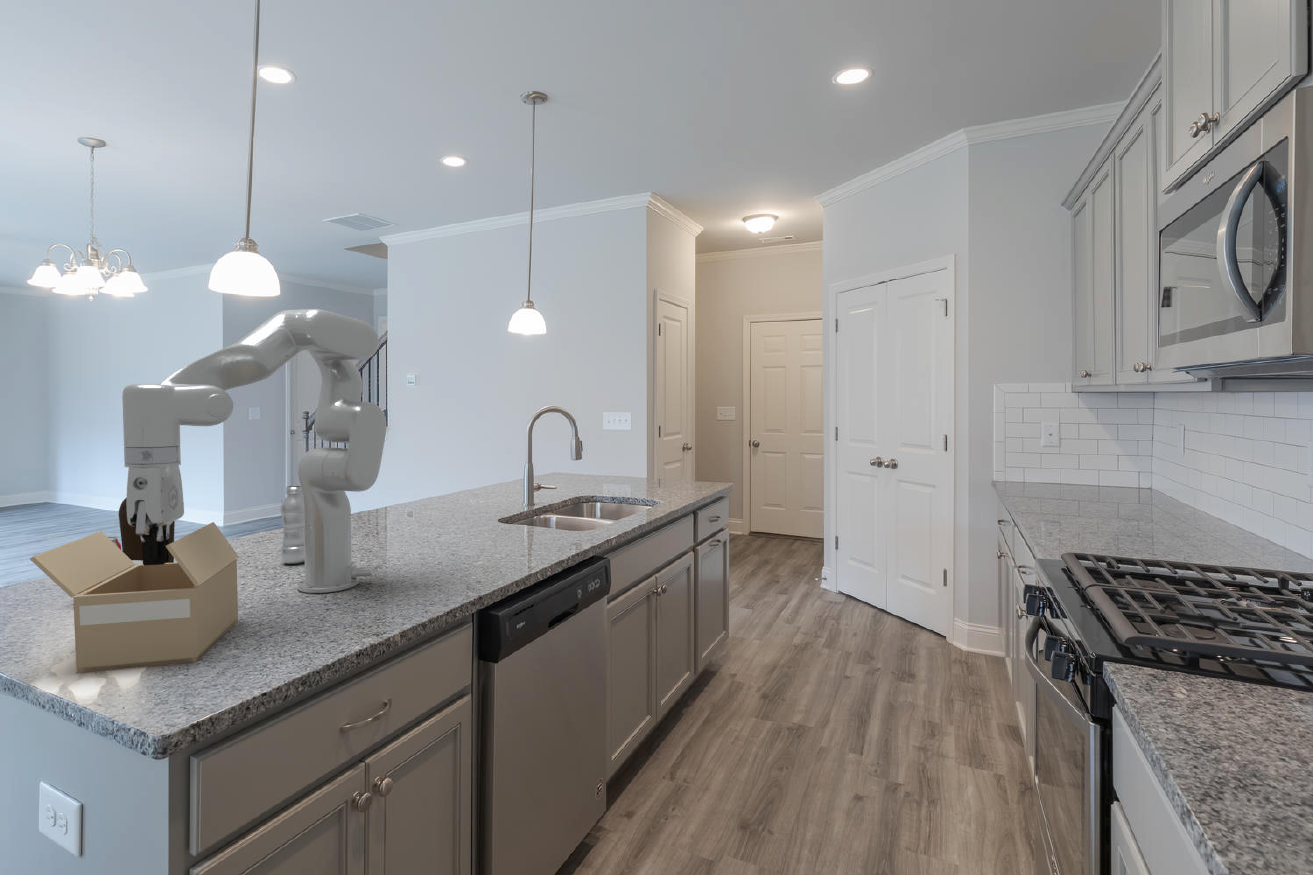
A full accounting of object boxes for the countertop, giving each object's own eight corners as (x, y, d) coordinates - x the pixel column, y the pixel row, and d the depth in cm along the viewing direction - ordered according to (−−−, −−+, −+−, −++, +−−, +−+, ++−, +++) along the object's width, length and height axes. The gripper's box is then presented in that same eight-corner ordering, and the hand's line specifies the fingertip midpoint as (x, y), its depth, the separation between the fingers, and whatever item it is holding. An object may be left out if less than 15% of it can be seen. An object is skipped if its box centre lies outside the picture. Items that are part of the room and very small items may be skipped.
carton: (238, 620, 122) (236, 559, 122) (196, 662, 103) (194, 589, 103) (138, 628, 118) (136, 564, 117) (76, 673, 99) (72, 597, 98)
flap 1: (101, 531, 115) (98, 533, 115) (33, 556, 97) (29, 558, 96) (135, 563, 117) (132, 566, 117) (74, 594, 98) (71, 597, 98)
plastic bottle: (288, 560, 168) (286, 484, 167) (315, 559, 169) (313, 484, 168) (275, 566, 162) (274, 488, 161) (303, 566, 162) (302, 488, 161)
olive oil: (160, 578, 150) (157, 472, 148) (109, 580, 148) (105, 473, 147) (186, 567, 160) (183, 468, 159) (139, 568, 159) (135, 468, 157)
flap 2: (165, 546, 101) (169, 544, 102) (210, 523, 120) (213, 521, 120) (196, 587, 103) (199, 585, 103) (235, 558, 121) (238, 556, 122)
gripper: (159, 460, 102) (162, 573, 103) (196, 453, 117) (198, 552, 118) (102, 461, 100) (106, 576, 101) (147, 453, 114) (150, 555, 115)
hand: (156, 563), depth 109 cm, fingers closed
